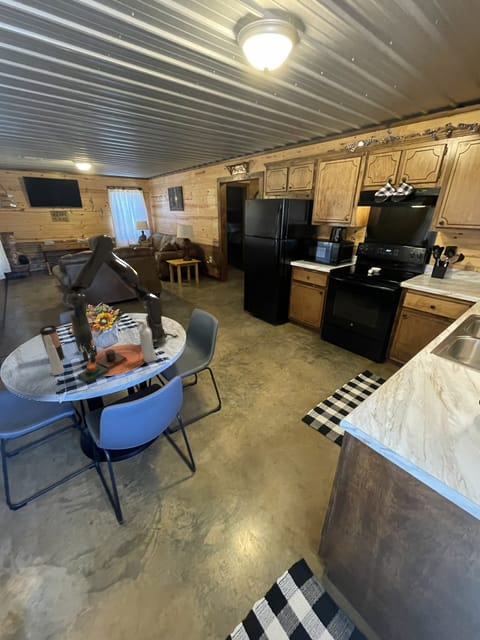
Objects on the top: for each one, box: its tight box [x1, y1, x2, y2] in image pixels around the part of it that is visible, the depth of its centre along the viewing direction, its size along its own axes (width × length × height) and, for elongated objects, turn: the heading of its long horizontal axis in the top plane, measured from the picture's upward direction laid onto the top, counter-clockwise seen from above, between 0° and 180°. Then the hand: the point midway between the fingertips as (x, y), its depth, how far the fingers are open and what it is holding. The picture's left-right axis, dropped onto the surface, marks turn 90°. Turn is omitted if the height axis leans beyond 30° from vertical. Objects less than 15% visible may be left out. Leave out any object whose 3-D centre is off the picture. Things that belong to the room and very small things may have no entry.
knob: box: [104, 349, 116, 362], centre depth 148 cm, size 5×5×5 cm
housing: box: [77, 364, 109, 384], centre depth 138 cm, size 11×9×4 cm
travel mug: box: [39, 325, 65, 361], centre depth 150 cm, size 8×8×20 cm
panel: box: [95, 352, 128, 372], centre depth 149 cm, size 12×10×3 cm
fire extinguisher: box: [134, 318, 159, 363], centre depth 148 cm, size 7×12×25 cm, turn 61°
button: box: [87, 364, 96, 371], centre depth 137 cm, size 4×4×2 cm
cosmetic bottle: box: [44, 335, 66, 376], centre depth 137 cm, size 6×6×22 cm
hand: (89, 360), depth 136 cm, fingers open, 5 cm apart
